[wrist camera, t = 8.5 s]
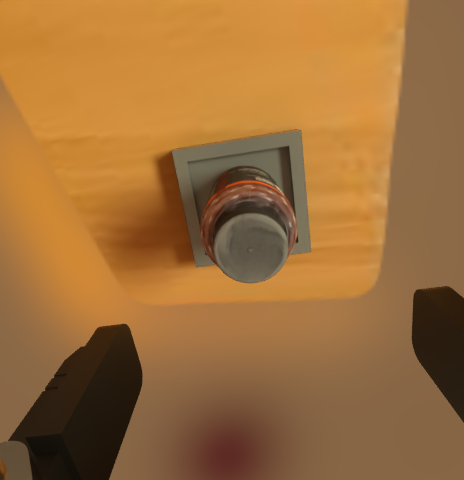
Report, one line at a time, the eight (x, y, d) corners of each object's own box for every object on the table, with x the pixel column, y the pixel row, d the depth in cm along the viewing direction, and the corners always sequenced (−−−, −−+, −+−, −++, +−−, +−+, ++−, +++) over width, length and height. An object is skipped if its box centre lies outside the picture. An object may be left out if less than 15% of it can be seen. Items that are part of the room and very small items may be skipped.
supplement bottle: (216, 238, 29) (203, 307, 19) (203, 170, 27) (180, 204, 17) (285, 228, 29) (312, 292, 18) (276, 158, 27) (300, 184, 16)
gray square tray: (176, 148, 28) (171, 150, 26) (297, 129, 27) (301, 130, 25) (198, 258, 31) (196, 267, 29) (306, 243, 31) (311, 251, 29)
